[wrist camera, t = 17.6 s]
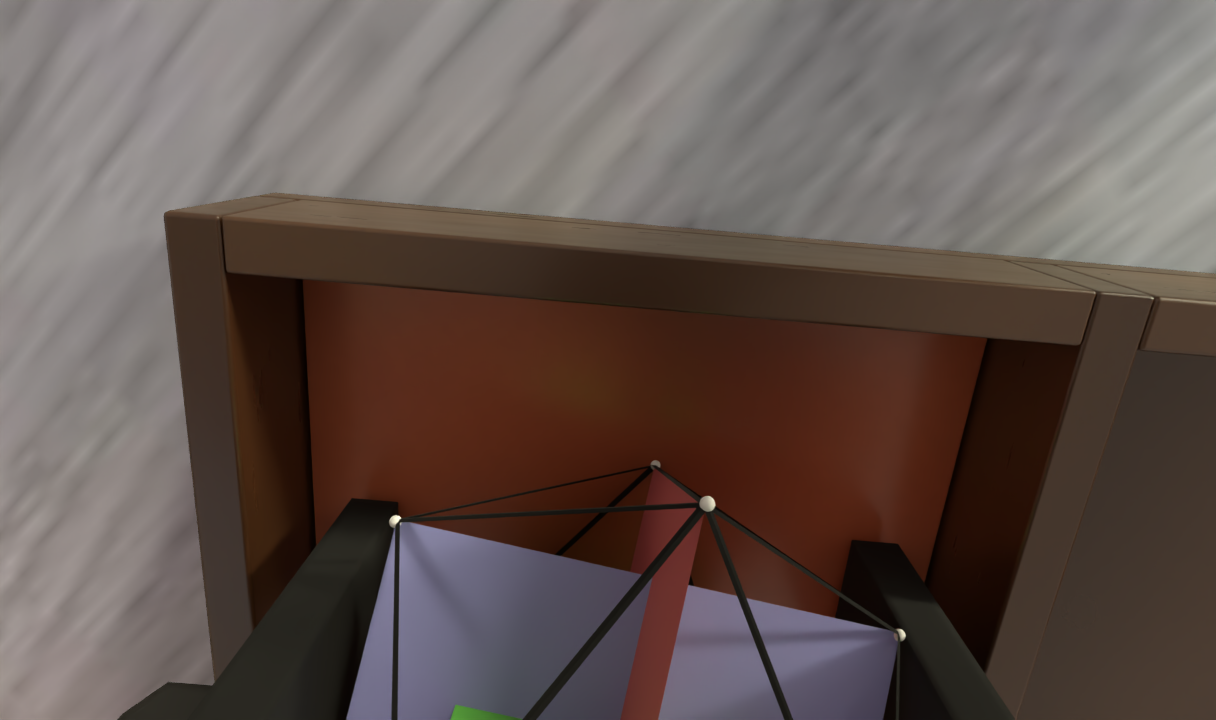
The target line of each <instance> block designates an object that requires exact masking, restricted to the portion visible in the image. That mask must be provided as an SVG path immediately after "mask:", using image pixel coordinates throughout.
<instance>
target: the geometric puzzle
mask: <svg viewBox="0 0 1216 720" xmlns="http://www.w3.org/2000/svg"><path fill="white" fill-rule="evenodd" d="M646 468H648V469H647V470H646V471H644V472H643V473H642V474H641V475H640V476H639V477H638V478H637V479H636V480H635V481H634V482H633V483H631V484H630V485H629V486H628V487H627V488H626V489H625V490H624V491H623V492H622V493H621V494H620V495H619V496H617V497H616V498H615V499H614V500H613V501H612V502H611V503H610V504H609V505H608V506H607V507H601V508H582V509H563V510H544V511H525V512H507V513H488V514H469V515H450V516H431V517H422V516H427V515H431V514H436V513H441V512H445V511H450V510H455V509H459V508H464V507H469V506H473V505H478V504H483V503H487V502H492V501H497V500H501V499H506V498H511V497H515V496H520V495H525V494H529V493H534V492H539V491H543V490H548V489H553V488H557V487H562V486H567V485H571V484H576V483H581V482H585V481H590V480H595V479H599V478H604V477H609V476H613V475H618V474H623V473H627V472H632V471H637V470H641V469H646ZM651 472H653V474H652V478H651V483H650V487H649V491H648V496H647V500H646V505H638V506H619V507H615V506H616V505H617V504H618V503H619V502H620V501H621V500H622V499H623V498H624V497H625V496H627V495H628V494H629V493H630V492H631V491H632V490H633V489H634V488H635V487H636V486H637V485H638V484H640V483H641V482H642V481H643V480H644V479H645V478H646V477H647V476H648V475H649V474H650V473H651ZM625 511H644V513H643V518H642V522H641V526H640V531H639V535H638V539H637V544H636V548H635V553H634V557H633V561H632V566H631V570H630V572H628V571H624V570H619V569H615V568H610V567H606V566H601V565H597V564H592V563H588V562H584V561H579V560H575V559H570V558H566V557H561V555H563V554H564V553H565V552H566V551H567V550H568V549H569V548H570V547H571V546H572V545H573V544H574V543H576V542H577V541H578V540H579V539H580V538H581V537H582V536H583V535H584V534H585V533H586V532H587V531H589V530H590V529H591V528H592V527H593V526H594V525H595V524H596V523H597V522H598V521H599V520H600V519H602V518H603V517H604V516H605V515H606V514H607V513H608V512H625ZM585 513H599V514H598V515H597V516H596V517H595V518H594V519H593V520H592V521H590V522H589V523H588V524H587V525H586V526H585V527H584V528H583V529H582V530H581V531H580V532H579V533H577V534H576V535H575V536H574V537H573V538H572V539H571V540H570V541H569V542H568V543H567V544H566V545H565V546H563V547H562V548H561V549H560V550H559V551H558V552H557V553H556V554H555V555H553V554H548V553H544V552H539V551H535V550H530V549H526V548H521V547H517V546H513V545H508V544H504V543H499V542H495V541H490V540H486V539H481V538H477V537H473V536H468V535H464V534H459V533H455V532H450V531H446V530H442V529H437V528H433V527H428V526H424V525H419V524H415V523H410V522H423V521H443V520H464V519H484V518H504V517H524V516H544V515H564V514H585ZM704 513H706V516H707V519H708V521H709V524H710V526H711V529H712V532H713V534H714V537H715V540H716V542H717V545H718V547H719V550H720V553H721V555H722V558H723V561H724V563H725V566H726V568H727V571H728V574H729V576H730V579H731V581H732V584H733V587H734V589H735V592H736V595H737V596H735V595H730V594H726V593H721V592H717V591H712V590H708V589H703V588H699V587H695V586H694V584H693V580H692V577H691V570H692V566H693V561H694V557H695V552H696V548H697V543H698V539H699V534H700V530H701V525H702V521H703V516H704ZM714 513H715V514H716V515H718V516H719V517H721V518H722V519H724V520H725V521H727V522H728V523H730V524H731V525H733V526H734V527H736V528H737V529H739V530H740V531H742V532H743V533H745V534H746V535H748V536H749V537H751V538H752V539H754V540H755V541H757V542H758V543H760V544H761V545H763V546H764V547H766V548H767V549H769V550H770V551H772V552H773V553H775V554H776V555H778V556H779V557H781V558H782V559H784V560H785V561H787V562H788V563H790V564H791V565H793V566H794V567H796V568H797V569H799V570H800V571H802V572H803V573H805V574H806V575H808V576H809V577H811V578H813V579H814V580H816V581H817V582H819V583H820V584H822V585H823V586H825V587H826V588H828V589H829V590H831V591H832V592H834V593H835V594H837V595H838V596H840V597H841V598H843V599H844V600H846V601H847V602H849V603H850V604H852V605H853V606H855V607H856V608H858V609H859V610H861V611H862V612H864V613H865V614H867V615H868V616H870V617H871V618H873V619H874V620H876V621H877V622H879V623H880V624H882V625H883V626H885V627H886V628H888V629H889V630H885V629H881V628H877V627H872V626H868V625H863V624H859V623H854V622H850V621H846V620H841V619H837V618H832V617H828V616H823V615H819V614H814V613H810V612H806V611H801V610H797V609H792V608H788V607H783V606H779V605H774V604H770V603H766V602H761V601H757V600H752V599H748V598H746V596H745V593H744V591H743V588H742V585H741V583H740V580H739V578H738V575H737V572H736V570H735V567H734V565H733V562H732V559H731V557H730V554H729V552H728V549H727V546H726V544H725V541H724V539H723V536H722V534H721V531H720V528H719V526H718V523H717V521H716V518H715V515H714ZM389 524H390V526H391V527H393V528H394V530H393V534H392V538H391V542H390V546H389V550H388V554H387V558H386V562H385V566H384V570H383V574H382V578H381V582H380V585H379V589H378V593H377V597H376V601H375V605H374V609H373V613H372V617H371V621H370V625H369V629H368V633H367V637H366V641H365V645H364V649H363V653H362V657H361V661H360V665H359V669H358V673H357V677H356V681H355V685H354V688H353V692H352V696H351V700H350V704H349V708H348V712H347V716H346V720H884V715H885V710H886V705H887V700H888V695H889V690H890V685H891V680H892V675H893V670H894V665H895V660H896V655H897V690H896V720H899V686H900V641H903V640H904V639H905V637H906V635H905V632H904V631H903V630H902V629H894V628H893V627H891V626H890V625H888V624H887V623H885V622H884V621H882V620H881V619H879V618H878V617H877V616H875V615H874V614H872V613H871V612H869V611H868V610H866V609H865V608H863V607H862V606H861V605H859V604H858V603H856V602H855V601H853V600H852V599H850V598H849V597H847V596H846V595H844V594H843V593H842V592H840V591H839V590H837V589H836V588H834V587H833V586H831V585H830V584H828V583H827V582H825V581H824V580H823V579H821V578H820V577H818V576H817V575H815V574H814V573H812V572H811V571H809V570H808V569H807V568H805V567H804V566H802V565H801V564H799V563H798V562H796V561H795V560H793V559H792V558H790V557H789V556H788V555H786V554H785V553H783V552H782V551H780V550H779V549H777V548H776V547H774V546H773V545H771V544H770V543H769V542H767V541H766V540H764V539H763V538H761V537H760V536H758V535H757V534H755V533H754V532H753V531H751V530H750V529H748V528H747V527H745V526H744V525H742V524H741V523H739V522H738V521H736V520H735V519H734V518H732V517H731V516H729V515H728V514H726V513H725V512H723V511H722V510H720V509H719V508H717V507H716V506H715V501H714V499H713V498H712V497H710V496H704V497H701V496H700V495H699V494H697V493H696V492H694V491H693V490H691V489H690V488H688V487H687V486H685V485H684V484H682V483H681V482H680V481H678V480H677V479H675V478H674V477H672V476H671V475H669V474H668V473H666V472H665V471H663V470H662V469H661V468H660V462H659V461H657V460H654V461H652V462H651V465H650V466H645V467H640V468H636V469H631V470H626V471H622V472H617V473H612V474H607V475H603V476H598V477H593V478H589V479H584V480H579V481H574V482H570V483H565V484H560V485H556V486H551V487H546V488H541V489H537V490H532V491H527V492H523V493H518V494H513V495H508V496H504V497H499V498H494V499H490V500H485V501H480V502H475V503H471V504H466V505H461V506H457V507H452V508H447V509H442V510H438V511H433V512H428V513H424V514H419V515H414V516H409V517H405V518H401V517H400V516H398V515H395V516H392V517H391V518H390V520H389Z"/></svg>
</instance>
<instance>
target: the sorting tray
mask: <svg viewBox="0 0 1216 720" xmlns="http://www.w3.org/2000/svg"><path fill="white" fill-rule="evenodd" d="M164 223H165V232H166V241H167V250H168V260H169V269H170V278H171V287H172V296H173V305H174V314H175V324H176V333H177V342H178V351H179V360H180V369H181V378H182V388H183V397H184V406H185V415H186V424H187V433H188V443H189V452H190V461H191V470H192V479H193V488H194V497H195V507H196V516H197V525H198V534H199V543H200V552H201V561H202V571H203V580H204V589H205V598H206V607H207V616H208V625H209V635H210V644H211V653H212V662H213V671H214V680H215V681H216V680H217V679H218V677H219V676H220V675H221V673H222V672H223V671H224V669H225V668H226V667H227V665H228V664H229V663H230V661H231V660H232V659H233V657H234V656H235V655H236V653H237V652H238V651H239V649H240V648H241V647H242V645H243V644H244V642H245V641H246V640H247V638H248V637H249V636H250V634H251V633H252V632H253V630H254V629H255V628H256V626H257V625H258V624H259V622H260V621H261V620H262V618H263V617H264V616H265V614H266V613H267V612H268V610H269V609H270V607H271V606H272V605H273V603H274V602H275V601H276V599H277V598H278V597H279V595H280V594H281V593H282V591H283V590H284V589H285V587H286V586H287V585H288V583H289V582H290V581H291V579H292V578H293V577H294V575H295V574H296V573H297V571H298V570H299V568H300V567H301V566H302V564H303V563H304V562H305V560H306V559H307V558H308V556H309V555H310V554H311V552H312V551H313V550H314V548H315V547H316V546H317V544H318V543H319V542H320V540H321V539H322V538H323V536H324V535H325V533H326V532H327V531H328V529H329V528H330V527H331V525H332V524H333V523H334V521H335V520H336V519H337V517H338V516H339V515H340V513H341V512H342V511H343V509H344V508H345V507H346V505H347V504H348V503H349V501H350V500H351V499H352V498H357V499H369V500H381V501H393V502H398V515H399V516H400V517H401V518H405V517H409V516H414V515H419V514H424V513H428V512H433V511H438V510H442V509H447V508H452V507H457V506H461V505H466V504H471V503H475V502H480V501H485V500H490V499H494V498H499V497H504V496H508V495H513V494H518V493H523V492H527V491H532V490H537V489H541V488H546V487H551V486H556V485H560V484H565V483H570V482H574V481H579V480H584V479H589V478H593V477H598V476H603V475H607V474H612V473H617V472H622V471H626V470H631V469H636V468H640V467H645V466H650V465H651V462H652V461H654V460H657V461H659V462H660V468H661V469H662V470H663V471H665V472H666V473H668V474H669V475H671V476H672V477H674V478H675V479H677V480H678V481H680V482H681V483H682V484H684V485H685V486H687V487H688V488H690V489H691V490H693V491H694V492H696V493H697V494H699V495H700V496H701V497H704V496H710V497H712V498H713V499H714V501H715V506H716V507H717V508H719V509H720V510H722V511H723V512H725V513H726V514H728V515H729V516H731V517H732V518H734V519H735V520H736V521H738V522H739V523H741V524H742V525H744V526H745V527H747V528H748V529H750V530H751V531H753V532H754V533H755V534H757V535H758V536H760V537H761V538H763V539H764V540H766V541H767V542H769V543H770V544H771V545H773V546H774V547H776V548H777V549H779V550H780V551H782V552H783V553H785V554H786V555H788V556H789V557H790V558H792V559H793V560H795V561H796V562H798V563H799V564H801V565H802V566H804V567H805V568H807V569H808V570H809V571H811V572H812V573H814V574H815V575H817V576H818V577H820V578H821V579H823V580H824V581H825V582H827V583H828V584H830V585H831V586H833V587H834V588H836V589H837V590H839V591H840V592H841V588H842V583H843V578H844V574H845V569H846V564H847V560H848V555H849V550H850V546H851V541H852V540H860V541H871V542H883V543H895V544H898V545H899V546H900V548H901V549H902V551H903V552H904V554H905V555H906V556H907V558H908V559H909V561H910V562H911V564H912V565H913V567H914V568H915V570H916V571H917V573H918V574H919V576H920V577H921V579H922V580H923V582H924V583H925V585H926V586H927V588H928V589H929V591H930V592H931V594H932V595H933V597H934V598H935V600H936V601H937V603H938V604H939V606H940V607H941V609H942V610H943V612H944V613H945V615H946V616H947V618H948V619H949V621H950V622H951V624H952V625H953V627H954V628H955V630H956V631H957V633H958V634H959V636H960V637H961V639H962V640H963V642H964V643H965V645H966V646H967V648H968V649H969V651H970V652H971V654H972V655H973V657H974V658H975V660H976V661H977V663H978V664H979V666H980V667H981V669H982V670H983V672H984V673H985V675H986V676H987V678H988V679H989V681H990V682H991V684H992V685H993V687H994V688H995V690H996V691H997V693H998V694H999V696H1000V697H1001V699H1002V700H1003V702H1004V703H1005V705H1006V706H1007V708H1008V709H1009V711H1010V712H1011V714H1012V715H1013V717H1014V718H1015V720H1216V274H1213V273H1201V272H1189V271H1178V270H1166V269H1154V268H1143V267H1131V266H1120V265H1108V264H1096V263H1085V262H1073V261H1062V260H1050V259H1038V258H1027V257H1015V256H1004V255H992V254H980V253H969V252H957V251H946V250H934V249H922V248H911V247H899V246H888V245H876V244H864V243H853V242H841V241H830V240H818V239H806V238H795V237H783V236H771V235H760V234H748V233H737V232H725V231H713V230H702V229H690V228H679V227H667V226H655V225H644V224H632V223H621V222H609V221H597V220H586V219H574V218H563V217H551V216H539V215H528V214H516V213H505V212H493V211H481V210H470V209H458V208H447V207H435V206H423V205H412V204H400V203H389V202H377V201H365V200H354V199H342V198H330V197H319V196H307V195H296V194H284V193H270V194H264V195H260V196H252V197H246V198H240V199H234V200H228V201H223V202H217V203H211V204H205V205H199V206H193V207H187V208H181V209H176V210H170V211H167V212H165V213H164ZM647 469H648V468H646V469H641V470H637V471H632V472H627V473H623V474H618V475H613V476H609V477H604V478H599V479H595V480H590V481H585V482H581V483H576V484H571V485H567V486H562V487H557V488H553V489H548V490H543V491H539V492H534V493H529V494H525V495H520V496H515V497H511V498H506V499H501V500H497V501H492V502H487V503H483V504H478V505H473V506H469V507H464V508H459V509H455V510H450V511H445V512H441V513H436V514H431V515H427V516H422V517H431V516H450V515H469V514H488V513H507V512H525V511H544V510H563V509H582V508H601V507H607V506H608V505H609V504H610V503H611V502H612V501H613V500H614V499H615V498H616V497H617V496H619V495H620V494H621V493H622V492H623V491H624V490H625V489H626V488H627V487H628V486H629V485H630V484H631V483H633V482H634V481H635V480H636V479H637V478H638V477H639V476H640V475H641V474H642V473H643V472H644V471H646V470H647ZM652 474H653V472H651V473H650V474H649V475H648V476H647V477H646V478H645V479H644V480H643V481H642V482H641V483H640V484H638V485H637V486H636V487H635V488H634V489H633V490H632V491H631V492H630V493H629V494H628V495H627V496H625V497H624V498H623V499H622V500H621V501H620V502H619V503H618V504H617V505H616V506H615V507H619V506H638V505H646V500H647V496H648V491H649V487H650V483H651V478H652ZM643 513H644V511H625V512H608V513H607V514H606V515H605V516H604V517H603V518H602V519H600V520H599V521H598V522H597V523H596V524H595V525H594V526H593V527H592V528H591V529H590V530H589V531H587V532H586V533H585V534H584V535H583V536H582V537H581V538H580V539H579V540H578V541H577V542H576V543H574V544H573V545H572V546H571V547H570V548H569V549H568V550H567V551H566V552H565V553H564V554H563V555H561V557H566V558H570V559H575V560H579V561H584V562H588V563H592V564H597V565H601V566H606V567H610V568H615V569H619V570H624V571H628V572H630V570H631V566H632V561H633V557H634V553H635V548H636V544H637V539H638V535H639V531H640V526H641V522H642V518H643ZM598 514H599V513H585V514H564V515H544V516H524V517H504V518H484V519H464V520H443V521H423V522H410V523H415V524H419V525H424V526H428V527H433V528H437V529H442V530H446V531H450V532H455V533H459V534H464V535H468V536H473V537H477V538H481V539H486V540H490V541H495V542H499V543H504V544H508V545H513V546H517V547H521V548H526V549H530V550H535V551H539V552H544V553H548V554H553V555H555V554H556V553H557V552H558V551H559V550H560V549H561V548H562V547H563V546H565V545H566V544H567V543H568V542H569V541H570V540H571V539H572V538H573V537H574V536H575V535H576V534H577V533H579V532H580V531H581V530H582V529H583V528H584V527H585V526H586V525H587V524H588V523H589V522H590V521H592V520H593V519H594V518H595V517H596V516H597V515H598ZM714 515H715V518H716V521H717V523H718V526H719V528H720V531H721V534H722V536H723V539H724V541H725V544H726V546H727V549H728V552H729V554H730V557H731V559H732V562H733V565H734V567H735V570H736V572H737V575H738V578H739V580H740V583H741V585H742V588H743V591H744V593H745V596H746V598H748V599H752V600H757V601H761V602H766V603H770V604H774V605H779V606H783V607H788V608H792V609H797V610H801V611H806V612H810V613H814V614H819V615H823V616H828V617H832V618H835V615H836V611H837V606H838V601H839V597H840V596H838V595H837V594H835V593H834V592H832V591H831V590H829V589H828V588H826V587H825V586H823V585H822V584H820V583H819V582H817V581H816V580H814V579H813V578H811V577H809V576H808V575H806V574H805V573H803V572H802V571H800V570H799V569H797V568H796V567H794V566H793V565H791V564H790V563H788V562H787V561H785V560H784V559H782V558H781V557H779V556H778V555H776V554H775V553H773V552H772V551H770V550H769V549H767V548H766V547H764V546H763V545H761V544H760V543H758V542H757V541H755V540H754V539H752V538H751V537H749V536H748V535H746V534H745V533H743V532H742V531H740V530H739V529H737V528H736V527H734V526H733V525H731V524H730V523H728V522H727V521H725V520H724V519H722V518H721V517H719V516H718V515H716V514H715V513H714ZM691 577H692V580H693V584H694V586H695V587H699V588H703V589H708V590H712V591H717V592H721V593H726V594H730V595H735V596H737V595H736V592H735V589H734V587H733V584H732V581H731V579H730V576H729V574H728V571H727V568H726V566H725V563H724V561H723V558H722V555H721V553H720V550H719V547H718V545H717V542H716V540H715V537H714V534H713V532H712V529H711V526H710V524H709V521H708V519H707V516H706V513H704V516H703V521H702V525H701V530H700V534H699V539H698V543H697V548H696V552H695V557H694V561H693V566H692V570H691Z"/></svg>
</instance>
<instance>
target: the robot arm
mask: <svg viewBox="0 0 1216 720" xmlns="http://www.w3.org/2000/svg"><path fill="white" fill-rule="evenodd" d="M395 515H398V502H393V501H381V500H369V499H357V498H352V499H351V500H350V501H349V503H348V504H347V505H346V507H345V508H344V509H343V511H342V512H341V513H340V515H339V516H338V517H337V519H336V520H335V521H334V523H333V524H332V525H331V527H330V528H329V529H328V531H327V532H326V533H325V535H324V536H323V538H322V539H321V540H320V542H319V543H318V544H317V546H316V547H315V548H314V550H313V551H312V552H311V554H310V555H309V556H308V558H307V559H306V560H305V562H304V563H303V564H302V566H301V567H300V568H299V570H298V571H297V573H296V574H295V575H294V577H293V578H292V579H291V581H290V582H289V583H288V585H287V586H286V587H285V589H284V590H283V591H282V593H281V594H280V595H279V597H278V598H277V599H276V601H275V602H274V603H273V605H272V606H271V607H270V609H269V610H268V612H267V613H266V614H265V616H264V617H263V618H262V620H261V621H260V622H259V624H258V625H257V626H256V628H255V629H254V630H253V632H252V633H251V634H250V636H249V637H248V638H247V640H246V641H245V642H244V644H243V645H242V647H241V648H240V649H239V651H238V652H237V653H236V655H235V656H234V657H233V659H232V660H231V661H230V663H229V664H228V665H227V667H226V668H225V669H224V671H223V672H222V673H221V675H220V676H219V677H218V679H217V680H216V681H215V683H214V684H213V686H210V685H197V684H185V683H173V682H168V683H166V684H165V685H163V686H162V687H161V688H159V689H158V690H156V691H155V692H153V693H152V694H150V695H149V696H148V697H146V698H145V699H143V700H142V701H140V702H139V703H138V704H136V705H135V706H133V707H132V708H130V709H129V710H128V711H126V712H125V713H123V714H122V715H121V716H120V718H119V719H118V720H346V716H347V712H348V708H349V704H350V700H351V696H352V692H353V688H354V685H355V681H356V677H357V673H358V669H359V665H360V661H361V657H362V653H363V649H364V645H365V641H366V637H367V633H368V629H369V625H370V621H371V617H372V613H373V609H374V605H375V601H376V597H377V593H378V589H379V585H380V582H381V578H382V574H383V570H384V566H385V562H386V558H387V554H388V550H389V546H390V542H391V538H392V534H393V530H394V528H393V527H391V526H390V524H389V520H390V518H391V517H392V516H395ZM398 516H399V515H398ZM841 592H842V593H843V594H844V595H846V596H847V597H849V598H850V599H852V600H853V601H855V602H856V603H858V604H859V605H861V606H862V607H863V608H865V609H866V610H868V611H869V612H871V613H872V614H874V615H875V616H877V617H878V618H879V619H881V620H882V621H884V622H885V623H887V624H888V625H890V626H891V627H893V628H894V629H902V630H903V631H904V632H905V635H906V637H905V639H904V640H903V641H900V686H899V720H1015V718H1014V717H1013V715H1012V714H1011V712H1010V711H1009V709H1008V708H1007V706H1006V705H1005V703H1004V702H1003V700H1002V699H1001V697H1000V696H999V694H998V693H997V691H996V690H995V688H994V687H993V685H992V684H991V682H990V681H989V679H988V678H987V676H986V675H985V673H984V672H983V670H982V669H981V667H980V666H979V664H978V663H977V661H976V660H975V658H974V657H973V655H972V654H971V652H970V651H969V649H968V648H967V646H966V645H965V643H964V642H963V640H962V639H961V637H960V636H959V634H958V633H957V631H956V630H955V628H954V627H953V625H952V624H951V622H950V621H949V619H948V618H947V616H946V615H945V613H944V612H943V610H942V609H941V607H940V606H939V604H938V603H937V601H936V600H935V598H934V597H933V595H932V594H931V592H930V591H929V589H928V588H927V586H926V585H925V583H924V582H923V580H922V579H921V577H920V576H919V574H918V573H917V571H916V570H915V568H914V567H913V565H912V564H911V562H910V561H909V559H908V558H907V556H906V555H905V554H904V552H903V551H902V549H901V548H900V546H899V545H898V544H895V543H883V542H871V541H860V540H852V541H851V546H850V550H849V555H848V560H847V564H846V569H845V574H844V578H843V583H842V588H841ZM835 618H837V619H841V620H846V621H850V622H854V623H859V624H863V625H868V626H872V627H877V628H881V629H885V630H889V629H888V628H886V627H885V626H883V625H882V624H880V623H879V622H877V621H876V620H874V619H873V618H871V617H870V616H868V615H867V614H865V613H864V612H862V611H861V610H859V609H858V608H856V607H855V606H853V605H852V604H850V603H849V602H847V601H846V600H844V599H843V598H841V597H839V601H838V606H837V611H836V615H835ZM896 690H897V655H896V660H895V665H894V670H893V675H892V680H891V685H890V690H889V695H888V700H887V705H886V710H885V715H884V720H896Z"/></svg>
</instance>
